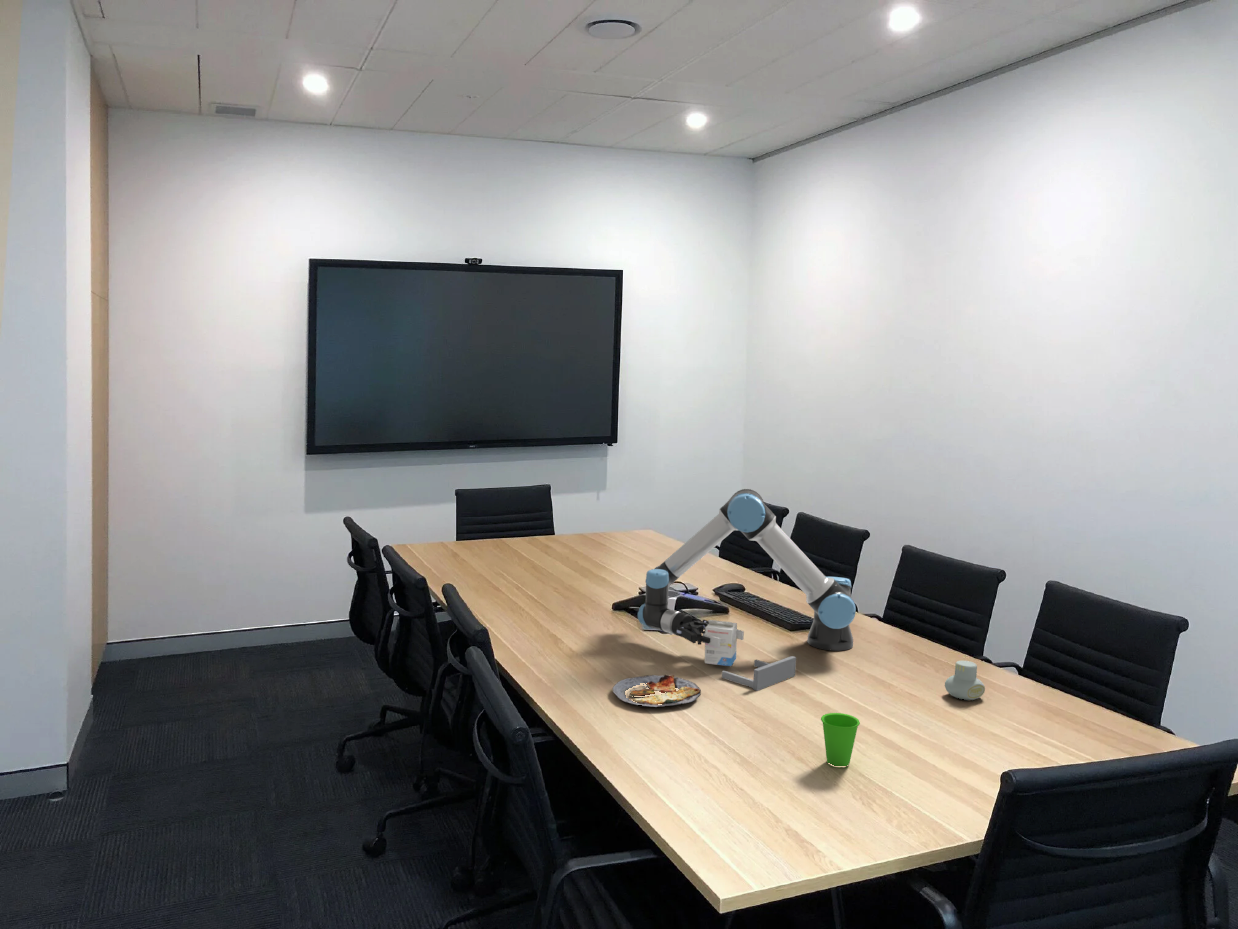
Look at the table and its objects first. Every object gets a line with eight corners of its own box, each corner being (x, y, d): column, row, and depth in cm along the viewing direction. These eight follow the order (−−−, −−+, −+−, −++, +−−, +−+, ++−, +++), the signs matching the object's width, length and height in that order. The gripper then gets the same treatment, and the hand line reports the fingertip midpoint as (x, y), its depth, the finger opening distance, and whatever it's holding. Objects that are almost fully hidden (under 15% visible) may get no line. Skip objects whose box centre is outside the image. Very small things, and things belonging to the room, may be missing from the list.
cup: (814, 756, 233) (816, 713, 231) (850, 755, 234) (852, 712, 232) (825, 772, 224) (827, 727, 223) (862, 772, 225) (865, 727, 223)
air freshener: (961, 704, 270) (963, 670, 269) (939, 695, 277) (941, 661, 276) (988, 699, 275) (991, 665, 274) (966, 689, 282) (968, 657, 281)
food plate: (679, 677, 287) (680, 666, 286) (715, 705, 265) (715, 693, 265) (601, 688, 278) (601, 677, 277) (631, 718, 256) (631, 706, 256)
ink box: (736, 658, 301) (738, 617, 300) (731, 667, 293) (732, 624, 292) (710, 655, 304) (711, 614, 302) (703, 663, 296) (705, 621, 294)
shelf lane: (795, 676, 290) (796, 657, 290) (757, 691, 277) (758, 671, 276) (757, 665, 300) (758, 646, 299) (719, 678, 287) (720, 659, 286)
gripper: (700, 628, 319) (753, 643, 303) (653, 641, 303) (706, 658, 287) (701, 606, 318) (754, 620, 302) (653, 618, 302) (707, 634, 286)
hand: (731, 639), depth 295 cm, fingers closed on ink box, 11 cm apart
